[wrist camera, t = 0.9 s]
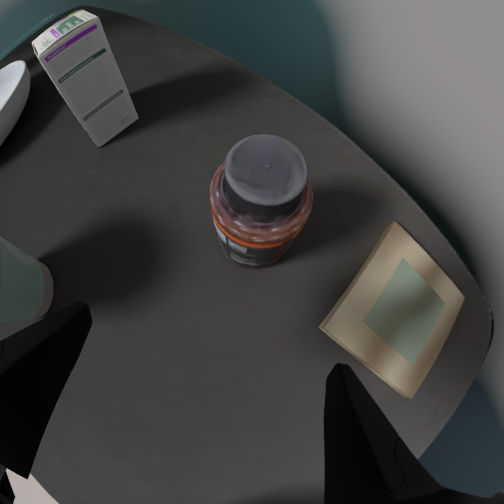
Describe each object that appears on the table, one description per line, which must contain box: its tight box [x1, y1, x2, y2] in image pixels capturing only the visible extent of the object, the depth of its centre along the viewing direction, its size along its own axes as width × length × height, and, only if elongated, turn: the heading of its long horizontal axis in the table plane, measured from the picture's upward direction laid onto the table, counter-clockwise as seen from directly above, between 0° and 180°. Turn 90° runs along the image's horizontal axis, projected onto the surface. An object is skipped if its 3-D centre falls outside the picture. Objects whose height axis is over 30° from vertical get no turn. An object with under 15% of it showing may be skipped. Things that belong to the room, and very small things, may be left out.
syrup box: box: [32, 9, 139, 147], centre depth 18 cm, size 6×6×14 cm
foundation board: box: [318, 221, 465, 399], centre depth 22 cm, size 12×12×2 cm
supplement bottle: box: [209, 134, 313, 269], centre depth 18 cm, size 6×6×11 cm
